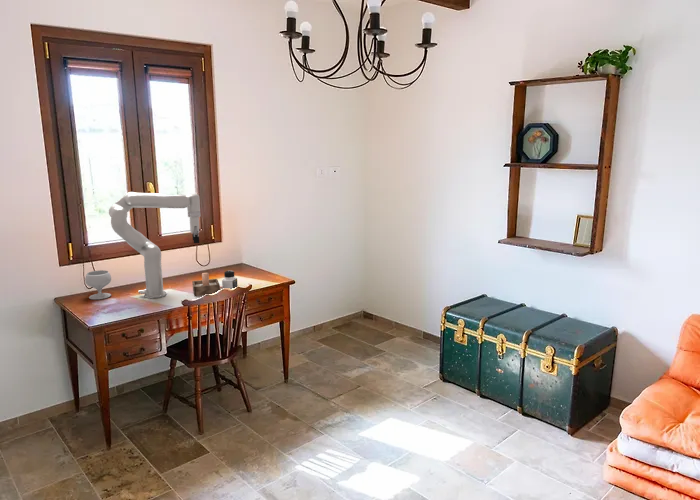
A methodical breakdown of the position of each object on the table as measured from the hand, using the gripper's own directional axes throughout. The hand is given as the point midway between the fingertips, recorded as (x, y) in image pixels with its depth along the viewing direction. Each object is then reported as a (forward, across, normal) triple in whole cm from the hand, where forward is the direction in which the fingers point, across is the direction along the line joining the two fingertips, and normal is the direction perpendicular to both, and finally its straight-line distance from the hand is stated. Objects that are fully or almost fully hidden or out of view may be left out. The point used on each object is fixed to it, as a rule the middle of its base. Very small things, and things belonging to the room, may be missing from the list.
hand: (196, 241), depth 314 cm
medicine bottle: (+31, +10, +18) cm, 37 cm away
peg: (+30, +10, +4) cm, 32 cm away
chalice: (+31, -3, -57) cm, 65 cm away
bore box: (+30, +10, +4) cm, 32 cm away
